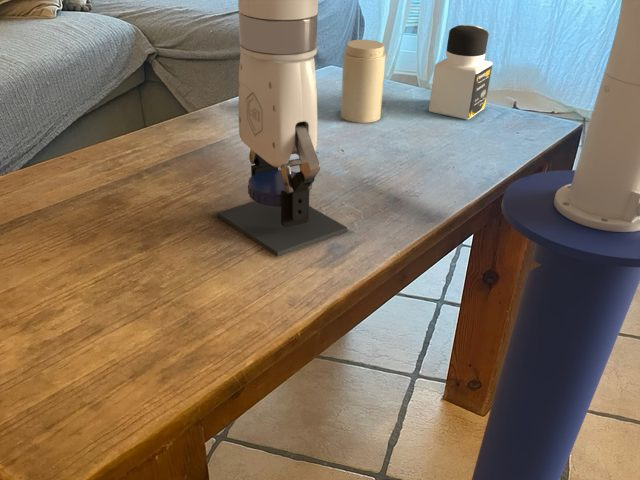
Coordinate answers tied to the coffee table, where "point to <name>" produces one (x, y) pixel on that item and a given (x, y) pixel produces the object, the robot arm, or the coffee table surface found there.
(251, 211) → the mat
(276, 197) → the lid
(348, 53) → the jar
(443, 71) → the medicine bottle
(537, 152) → the coffee table surface
